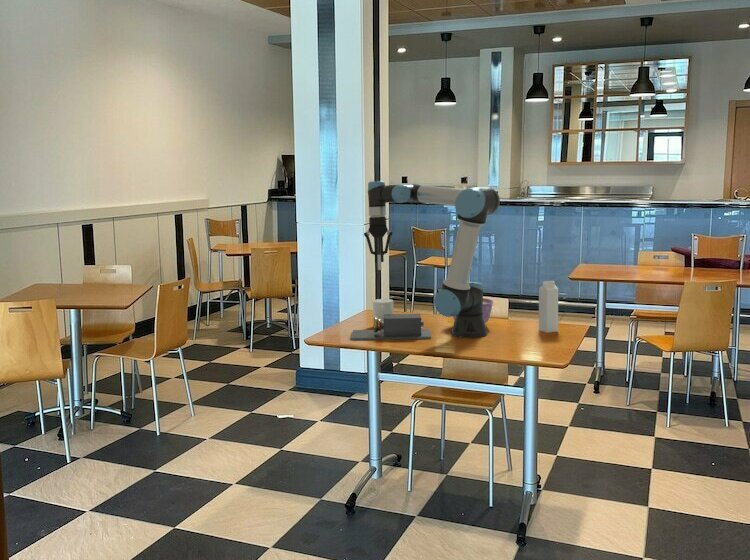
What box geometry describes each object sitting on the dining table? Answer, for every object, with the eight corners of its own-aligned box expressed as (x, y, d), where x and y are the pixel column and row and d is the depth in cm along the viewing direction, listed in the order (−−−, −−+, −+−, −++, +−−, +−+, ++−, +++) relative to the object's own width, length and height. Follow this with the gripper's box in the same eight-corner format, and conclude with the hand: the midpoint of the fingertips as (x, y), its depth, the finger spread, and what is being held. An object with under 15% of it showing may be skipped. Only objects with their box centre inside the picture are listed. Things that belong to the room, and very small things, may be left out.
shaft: (373, 334, 315) (373, 319, 314) (374, 330, 322) (374, 316, 321) (423, 333, 314) (423, 318, 313) (423, 330, 321) (423, 315, 320)
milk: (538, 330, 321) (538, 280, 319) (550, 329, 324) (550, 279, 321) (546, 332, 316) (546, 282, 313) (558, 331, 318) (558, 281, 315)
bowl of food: (490, 321, 344) (490, 297, 342) (496, 330, 324) (496, 304, 322) (447, 322, 344) (447, 297, 343) (451, 331, 325) (450, 305, 323)
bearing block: (350, 340, 311) (350, 320, 310) (353, 332, 327) (352, 313, 326) (430, 338, 310) (430, 319, 308) (429, 331, 325) (429, 312, 324)
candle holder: (394, 328, 334) (393, 302, 332) (372, 328, 334) (371, 302, 332) (393, 323, 343) (393, 298, 342) (373, 324, 344) (372, 299, 342)
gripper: (392, 215, 325) (394, 268, 328) (362, 216, 325) (365, 269, 328) (392, 216, 318) (394, 270, 321) (362, 217, 318) (364, 271, 321)
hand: (379, 269), depth 325 cm, fingers closed
